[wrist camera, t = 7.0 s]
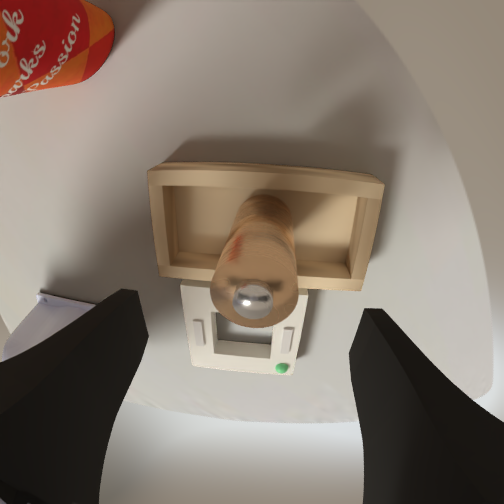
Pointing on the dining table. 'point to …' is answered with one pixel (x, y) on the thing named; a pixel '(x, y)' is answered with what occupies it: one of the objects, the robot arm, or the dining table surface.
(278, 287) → the battery cell
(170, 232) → the wooden trough
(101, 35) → the paper cup
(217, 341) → the white square frame
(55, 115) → the dining table surface
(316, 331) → the dining table surface
